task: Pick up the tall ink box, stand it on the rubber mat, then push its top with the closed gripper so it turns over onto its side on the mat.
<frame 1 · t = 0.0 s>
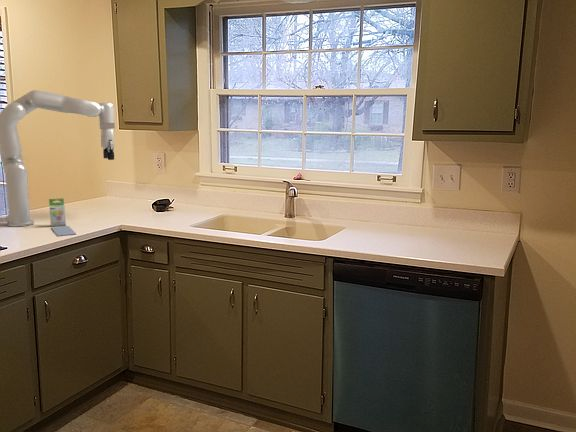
hand: (108, 159, 288), 31 cm above the worktop, tool pointing down, fingers open, 9 cm apart
rubber mat: (63, 231, 257), on the worktop
ink box: (58, 226, 269), on the worktop
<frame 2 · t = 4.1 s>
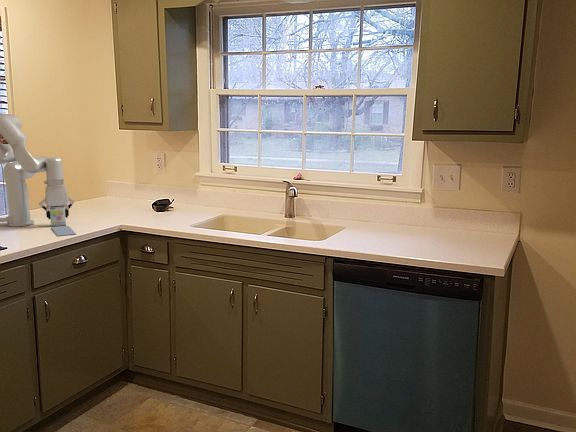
hand: (57, 217, 268), 4 cm above the worktop, tool pointing down, fingers closed on ink box, 7 cm apart
ink box: (58, 226, 269), on the worktop, touching gripper
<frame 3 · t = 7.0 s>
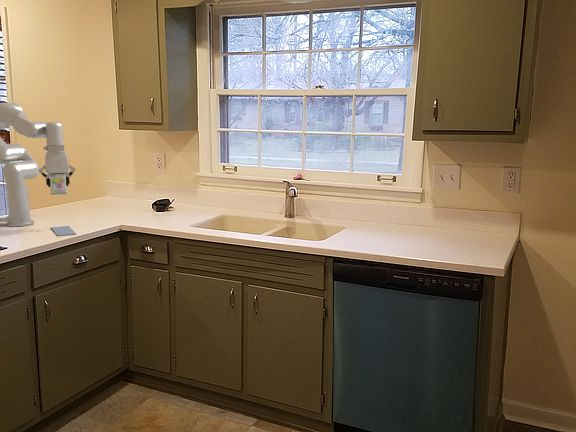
hand: (58, 185, 258), 21 cm above the worktop, tool pointing down, fingers closed on ink box, 7 cm apart
ink box: (58, 194, 258), point 17 cm above the worktop, touching gripper
when the fingers open (6 cm above the worktop, at t = 10.2 s): ink box drops 2 cm, resting on rubber mat.
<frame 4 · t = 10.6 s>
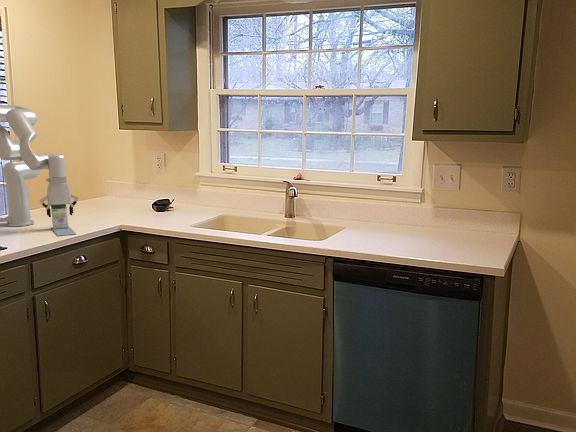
hand: (60, 215, 260), 7 cm above the worktop, tool pointing down, fingers open, 9 cm apart
ink box: (60, 228, 262), resting on rubber mat
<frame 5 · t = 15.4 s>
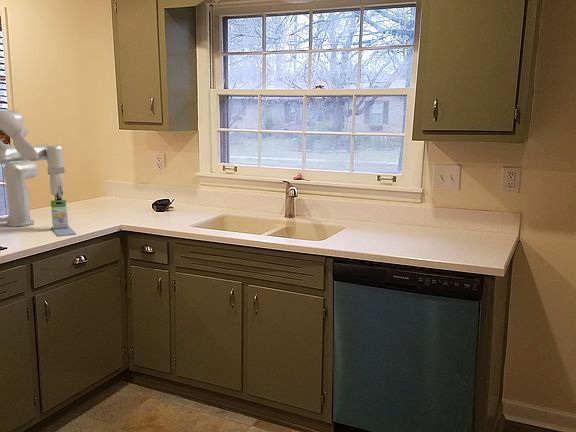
hand: (59, 208, 263), 9 cm above the worktop, tool pointing down, fingers closed
nothing on the worktop moved.
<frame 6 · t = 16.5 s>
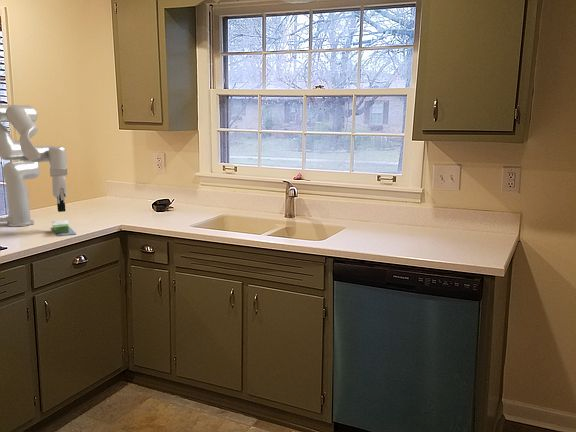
hand: (61, 211, 257), 9 cm above the worktop, tool pointing down, fingers closed
ink box: (60, 224, 260), point 2 cm above the worktop, touching rubber mat
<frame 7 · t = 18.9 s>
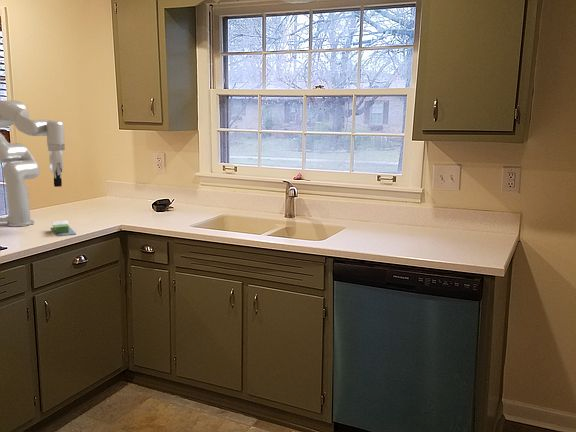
hand: (57, 186, 256), 21 cm above the worktop, tool pointing down, fingers closed
nothing on the worktop moved.
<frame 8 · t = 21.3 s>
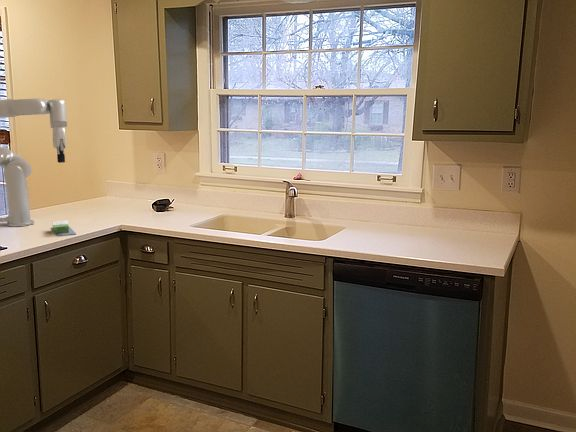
hand: (61, 162, 269), 31 cm above the worktop, tool pointing down, fingers closed
nothing on the worktop moved.
at the end: ink box tilted 90°; ink box inside the target area on the rubber mat (5.3 cm from its centre), point 2.4 cm above the rubber mat's base; the gripper is holding nothing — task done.
